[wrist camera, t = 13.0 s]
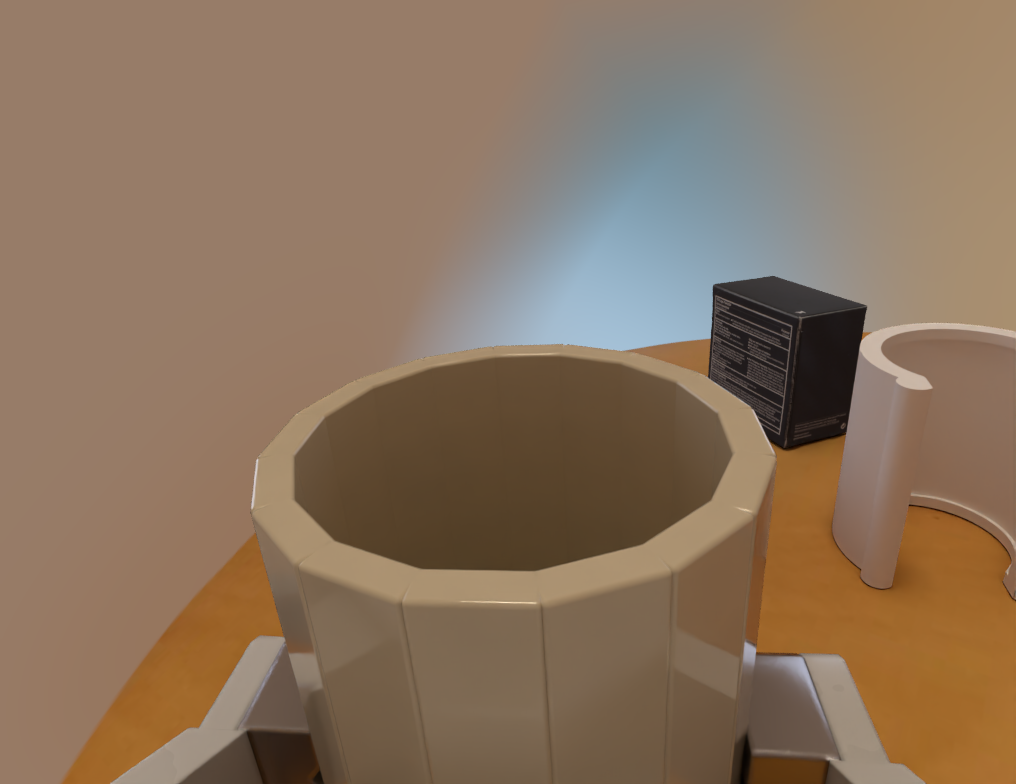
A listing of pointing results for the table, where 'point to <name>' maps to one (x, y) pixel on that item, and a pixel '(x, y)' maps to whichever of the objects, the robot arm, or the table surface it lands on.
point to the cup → (521, 569)
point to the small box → (787, 355)
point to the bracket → (928, 440)
